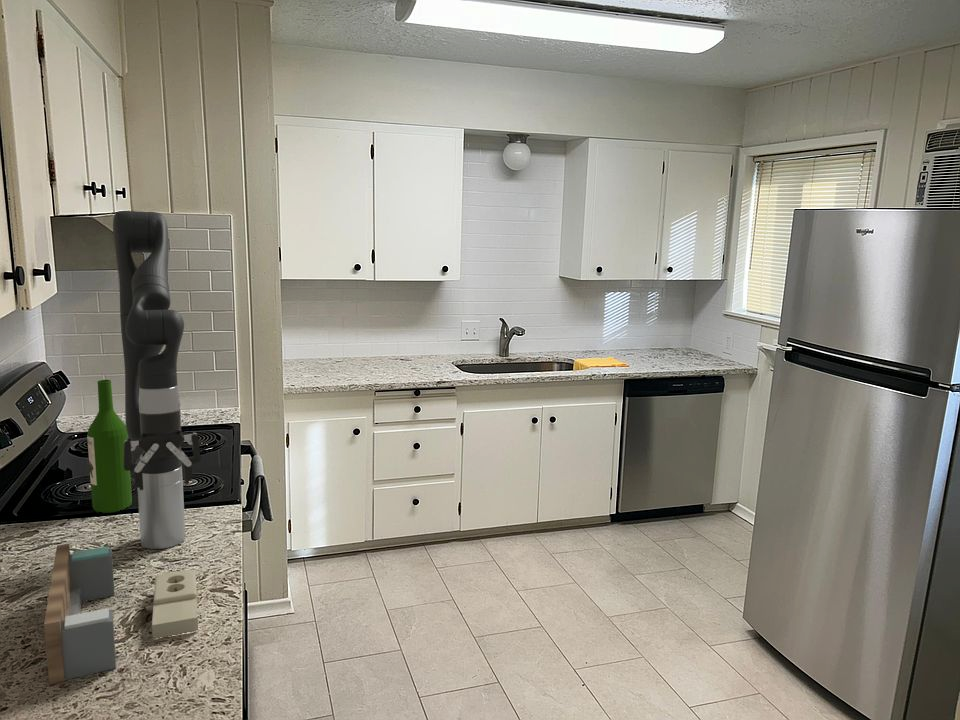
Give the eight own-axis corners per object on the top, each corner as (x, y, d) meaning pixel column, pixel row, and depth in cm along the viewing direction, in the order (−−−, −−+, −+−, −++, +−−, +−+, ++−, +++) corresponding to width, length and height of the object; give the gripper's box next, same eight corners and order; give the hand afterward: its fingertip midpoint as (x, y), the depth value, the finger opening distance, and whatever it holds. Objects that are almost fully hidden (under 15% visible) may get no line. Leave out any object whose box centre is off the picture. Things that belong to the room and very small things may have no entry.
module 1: (73, 594, 135) (69, 551, 133) (114, 586, 138) (111, 544, 137) (72, 603, 131) (68, 560, 130) (114, 595, 134) (111, 553, 133)
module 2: (66, 666, 112) (61, 615, 111) (115, 655, 115) (112, 606, 114) (64, 680, 108) (60, 628, 107) (115, 668, 112) (112, 617, 110)
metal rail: (72, 603, 131) (70, 585, 131) (81, 601, 132) (80, 584, 131) (66, 666, 112) (64, 645, 111) (76, 663, 113) (75, 643, 112)
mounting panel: (61, 595, 134) (56, 545, 133) (73, 592, 135) (69, 543, 134) (49, 685, 107) (44, 624, 106) (64, 681, 108) (59, 621, 106)
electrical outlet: (151, 620, 119) (155, 574, 136) (153, 642, 120) (156, 594, 136) (197, 612, 122) (195, 568, 138) (198, 634, 123) (196, 587, 139)
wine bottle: (87, 506, 179) (78, 380, 174) (125, 497, 185) (117, 376, 180) (99, 516, 173) (89, 385, 168) (137, 507, 179) (129, 381, 174)
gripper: (195, 402, 149) (199, 476, 151) (120, 408, 143) (125, 486, 145) (199, 408, 143) (203, 486, 145) (120, 415, 136) (125, 496, 138)
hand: (164, 486), depth 145 cm, fingers open, 8 cm apart
